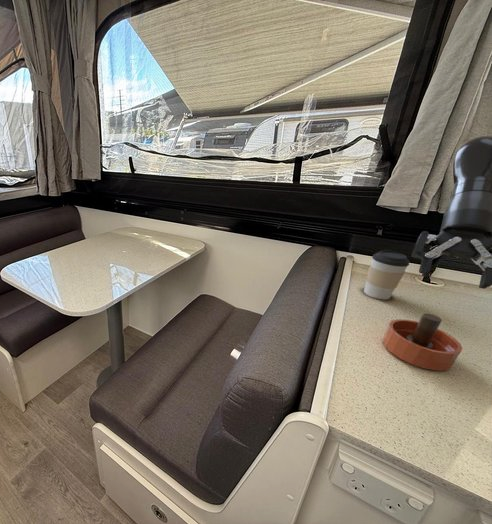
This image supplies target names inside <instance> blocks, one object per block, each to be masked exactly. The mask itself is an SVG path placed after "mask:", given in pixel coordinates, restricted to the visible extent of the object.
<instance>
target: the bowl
mask: <svg viewBox="0 0 492 524" xmlns="http://www.w3.org/2000/svg"><path fill="white" fill-rule="evenodd" d="M418 322H419V321H417V320H410V319H394V320H391V321H390V322H389V323H388V325H387V327H386V330H385V332H384V334H383V336H382V344H383V345H384V347H385V349H387V350H388V351H389V352H391V354H393V355H394V356H395V357H397V358H399V359H400V360H402V361H403V362H406V363H408V364H411V365H413V366H416V367H419V368H422V369H427V370H431V371H447V370H451V369H452V368H453V365H454V364H455V362H456V360H457V359H458V357H459V356H460V354H461V352H462V350H463V346H462V343H460V341H459V340H457V339H456V338H455V336H453V335H451V334H450V333H448V332H445V331H444V330H442V329H440V328H438V329H437V331H436V333H435V334H434V336H433V338H432V340H431V343H432V344H433V347H432V349H428V348H425V347H422V346H420V345H417V344H415V343H412V342H410V341H409V340H407V339H406V337H407V336H408V335H412V334H413V332H414V330H415V328H416V326H417V324H418Z"/></svg>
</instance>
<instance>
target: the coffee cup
mask: <svg viewBox="0 0 492 524" xmlns="http://www.w3.org/2000/svg"><path fill="white" fill-rule="evenodd" d="M371 258H372V260H371V262H370V265H369V269H368V273H367V276H366V283H365V286H364V290H363V293H364V294H365V295H367V296H369V297H371V298H374V299H378V300H389V299H390V298H391V297H392V295H393V293H394V292H395V289H397V287H398V285H399V284H400V282H401V280H402V278H403V276H404V274H405V273H406V269H407V268H408V266H410V262H411V260H409V259H408V257H407V256H406V255H405V254H403V253H400V252H397V251H394V250H392V249H383V250H379V252H375V253H374V254H373V255H372V257H371Z"/></svg>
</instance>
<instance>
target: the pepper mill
mask: <svg viewBox="0 0 492 524" xmlns="http://www.w3.org/2000/svg"><path fill="white" fill-rule="evenodd" d="M419 318H420V319H419V320H418V321H417V322H418V324H417V326H416V328H415V330H414V332H413V334H412V335H408V336H407V337H406V339H407V340H409V341H410V342H412V343H415V344H417V345H420V346H422V347H425V348H428V349H432V347H433V344H432V343H431V340H432V338H433V336H434V334H435V333H436V331H437V329H439V328H440V325H441V323H442V321H443V320H442V318H441V317H440V316H438V315H436V314H433V313H427V312H424V313H422V314H421V317H419Z"/></svg>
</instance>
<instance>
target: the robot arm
mask: <svg viewBox="0 0 492 524" xmlns="http://www.w3.org/2000/svg"><path fill="white" fill-rule="evenodd" d="M452 176H453V177H452V178H453V187H452V190H451V193H450V196H449V200H448V202H447V205H446V207H445V211H444V213H443V218H442V222H441V224H440V229H439V233H438V234H437V235H436V234H431V233H429V232H428V231H427V230H423V231H422V232H420V234H419V235H418V237H417V240H416V243H415V245H414V248H413V249H412V253H411V257H412V258H414V259H418V260H420V265H419V269H418V273H419V274H421V277H425V278H427V277H428V276H429V274H430V272H431V268H432V265H433V260H434V259H437V258H438V257H440V256H442V255H445V256H446V257H449V258H459V259H462V260H466V261H467V260H471V261H473V263H474V264H475V265H476V266H479V268H480V269H481V270H482V272H481V275H480V281H479V284H478V288H479V289H483V290H485V289H487V288H490V287H492V253H490V252H489V251H490V250H492V135H481V136H476V137H474V138H472V139H469V140H468V141H466V142H464V143H463V144H462V145H461V146H460V147H459V148H458V149H457V151H456V152H455V154H454V156H453V162H452ZM432 241H433V242H434V243H435V245H436V247H435V248H434V249H432V250H429V251H428V252H426V251H424V248H425V245H428V244H429V243H431V242H432Z"/></svg>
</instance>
